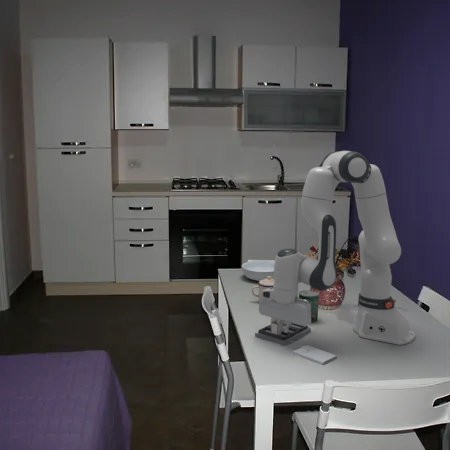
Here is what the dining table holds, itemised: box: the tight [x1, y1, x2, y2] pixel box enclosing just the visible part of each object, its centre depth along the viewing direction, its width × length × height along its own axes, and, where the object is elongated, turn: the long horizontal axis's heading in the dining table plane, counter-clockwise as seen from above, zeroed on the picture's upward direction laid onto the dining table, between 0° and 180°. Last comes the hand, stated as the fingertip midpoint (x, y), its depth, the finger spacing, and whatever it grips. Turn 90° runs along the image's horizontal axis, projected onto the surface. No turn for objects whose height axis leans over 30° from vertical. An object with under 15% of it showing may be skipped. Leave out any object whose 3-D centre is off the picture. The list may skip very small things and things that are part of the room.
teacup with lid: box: [251, 276, 275, 303], centre depth 247 cm, size 12×9×12 cm
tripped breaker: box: [271, 320, 281, 335], centre depth 206 cm, size 2×3×5 cm
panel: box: [254, 323, 312, 347], centre depth 211 cm, size 13×18×2 cm
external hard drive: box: [292, 344, 338, 366], centre depth 193 cm, size 2×8×12 cm
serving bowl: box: [241, 260, 275, 282], centre depth 283 cm, size 21×21×7 cm
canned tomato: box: [298, 289, 320, 324], centre depth 227 cm, size 8×8×11 cm
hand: (283, 331), depth 204 cm, fingers closed
